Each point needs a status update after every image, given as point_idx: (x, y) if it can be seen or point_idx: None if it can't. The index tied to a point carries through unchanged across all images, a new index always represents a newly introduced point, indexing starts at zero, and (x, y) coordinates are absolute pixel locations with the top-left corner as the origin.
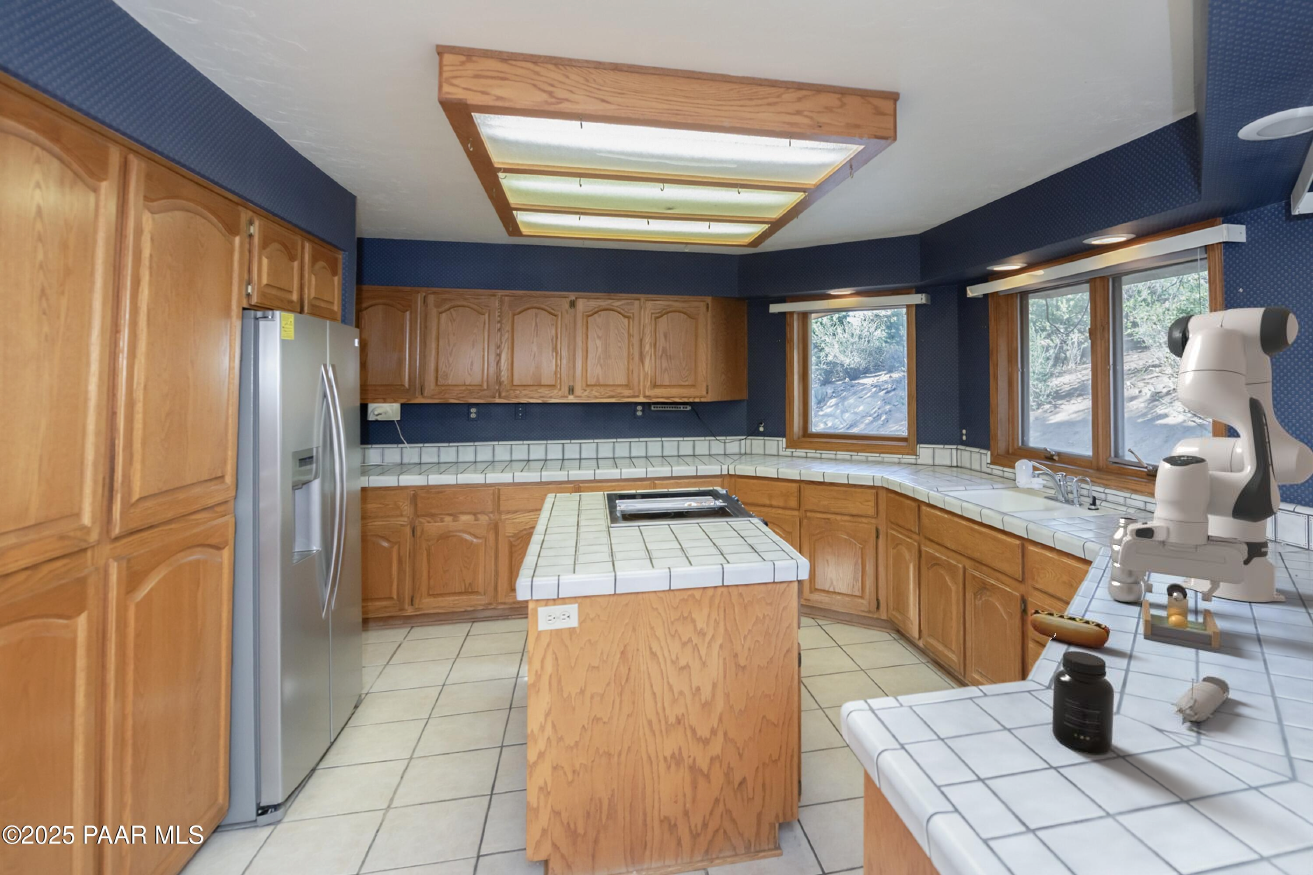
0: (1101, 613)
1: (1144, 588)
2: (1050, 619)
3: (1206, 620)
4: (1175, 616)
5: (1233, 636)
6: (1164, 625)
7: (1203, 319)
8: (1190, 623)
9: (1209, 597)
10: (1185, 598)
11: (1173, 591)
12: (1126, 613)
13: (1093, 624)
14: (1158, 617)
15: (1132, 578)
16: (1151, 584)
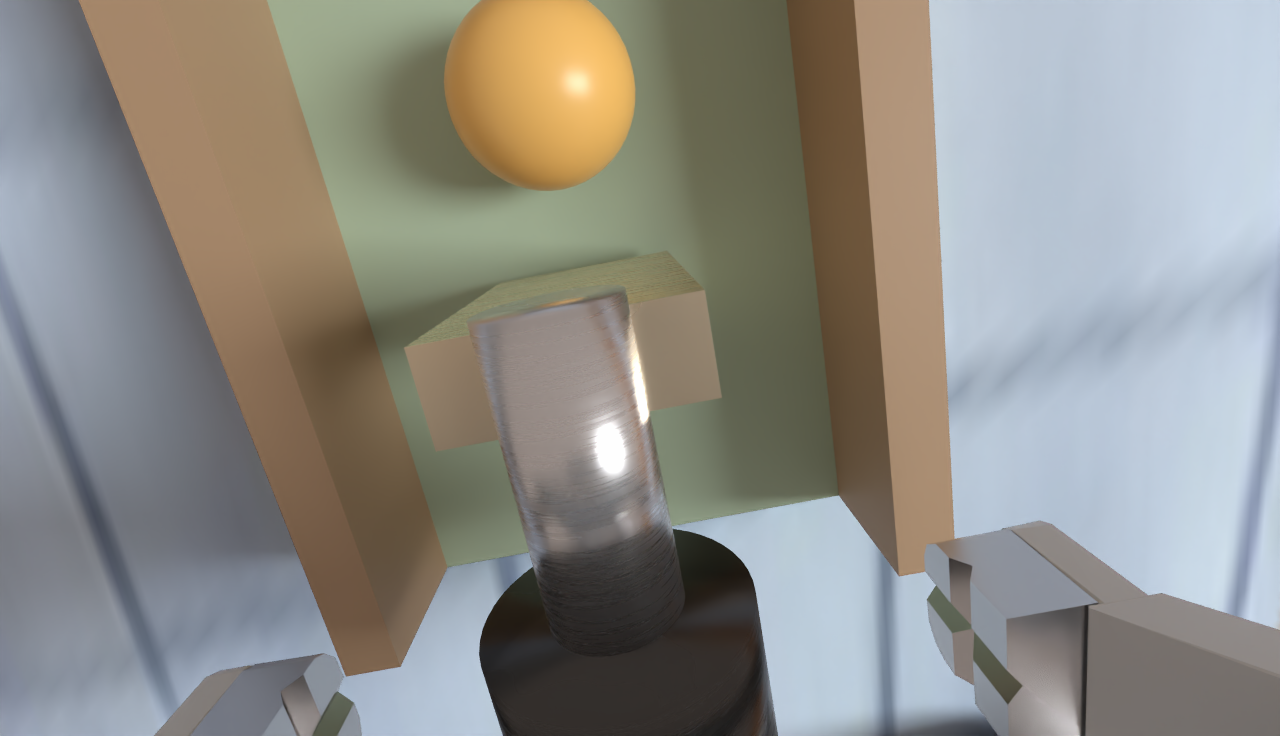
0: (1165, 288)
1: (1070, 545)
2: None
3: (316, 342)
4: (558, 35)
5: (240, 467)
6: (673, 177)
7: None
8: None
9: (201, 713)
10: (467, 425)
11: (663, 573)
12: (974, 466)
13: None
14: (750, 426)
15: None
16: (1025, 673)
